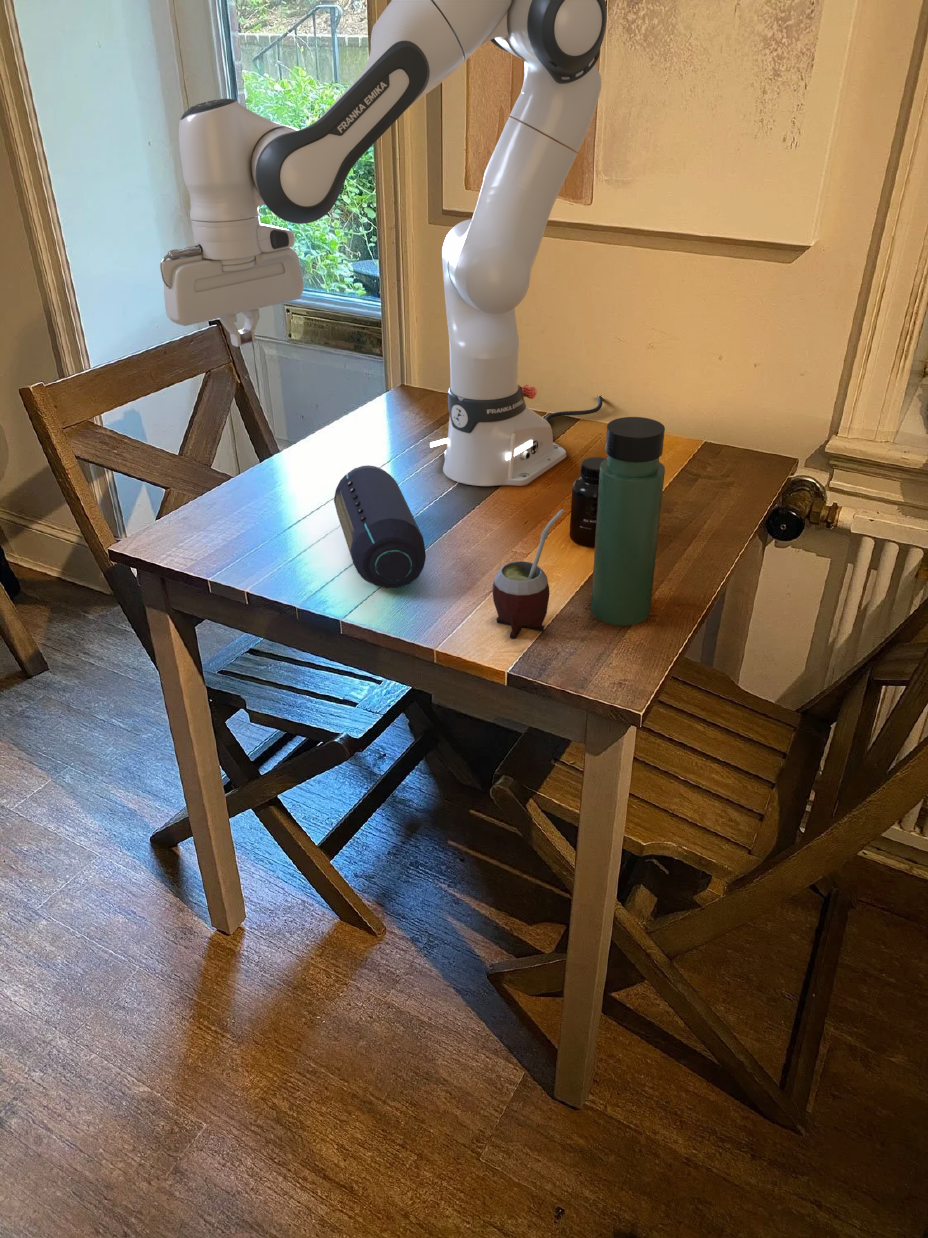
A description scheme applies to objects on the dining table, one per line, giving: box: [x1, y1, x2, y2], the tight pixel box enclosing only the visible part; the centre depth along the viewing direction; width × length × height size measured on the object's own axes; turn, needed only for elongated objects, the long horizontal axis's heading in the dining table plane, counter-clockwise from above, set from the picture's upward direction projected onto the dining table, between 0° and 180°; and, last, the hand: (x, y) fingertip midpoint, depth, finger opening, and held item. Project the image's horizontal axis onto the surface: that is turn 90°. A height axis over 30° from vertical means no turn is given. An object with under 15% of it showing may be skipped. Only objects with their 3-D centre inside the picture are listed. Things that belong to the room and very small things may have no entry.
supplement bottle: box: [569, 456, 607, 549], centre depth 135 cm, size 7×7×12 cm
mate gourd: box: [491, 508, 565, 640], centre depth 115 cm, size 8×8×15 cm
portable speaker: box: [333, 465, 427, 589], centre depth 133 cm, size 25×10×10 cm, turn 14°
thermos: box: [590, 416, 666, 627], centre depth 115 cm, size 8×8×25 cm
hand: (243, 343), depth 132 cm, fingers closed
